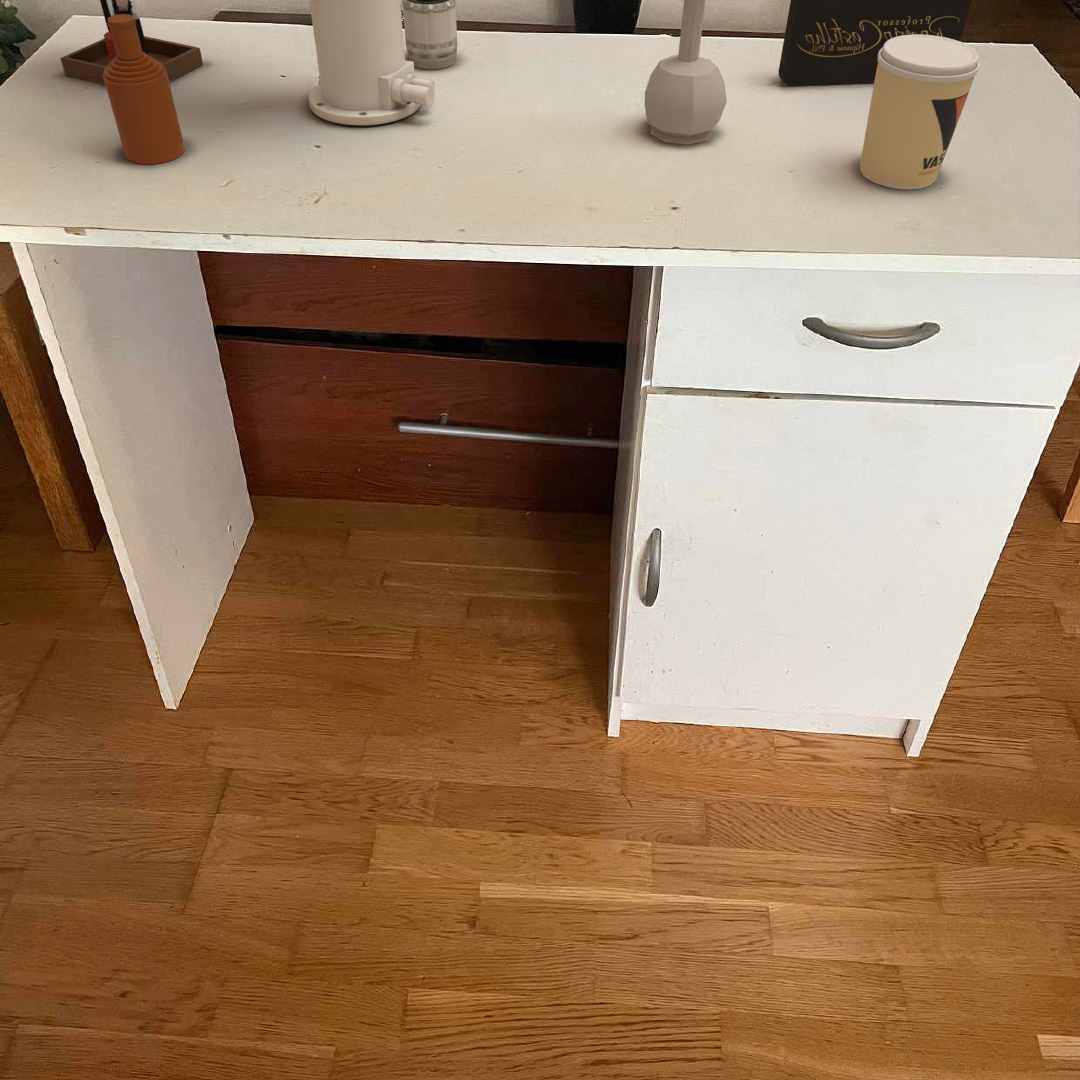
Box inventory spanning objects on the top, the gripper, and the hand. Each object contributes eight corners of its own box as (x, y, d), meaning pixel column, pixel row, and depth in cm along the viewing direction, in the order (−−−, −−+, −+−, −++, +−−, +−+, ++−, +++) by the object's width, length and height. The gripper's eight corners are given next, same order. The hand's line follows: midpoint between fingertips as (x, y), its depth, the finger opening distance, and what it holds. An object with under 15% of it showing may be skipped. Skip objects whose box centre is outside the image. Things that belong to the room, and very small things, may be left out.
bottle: (196, 146, 107) (166, 13, 97) (159, 169, 103) (123, 32, 93) (151, 135, 108) (117, 4, 99) (112, 157, 104) (73, 22, 95)
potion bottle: (730, 123, 112) (756, -60, 100) (705, 154, 107) (729, -36, 94) (656, 109, 115) (672, -71, 102) (627, 138, 109) (641, -48, 97)
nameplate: (942, 74, 124) (967, -16, 116) (948, 80, 122) (975, -11, 115) (776, 80, 121) (792, -11, 114) (781, 86, 120) (797, -5, 113)
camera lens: (456, 51, 127) (453, -18, 121) (459, 69, 123) (457, -1, 117) (405, 52, 126) (400, -17, 121) (407, 71, 122) (402, 0, 116)
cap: (106, 70, 120) (96, 37, 117) (123, 59, 122) (114, 27, 120) (134, 74, 119) (125, 41, 116) (150, 63, 122) (142, 30, 119)
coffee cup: (929, 202, 100) (967, 76, 91) (838, 178, 103) (866, 54, 95) (955, 167, 105) (993, 45, 97) (868, 145, 109) (898, 26, 100)
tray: (203, 64, 123) (199, 47, 121) (146, 94, 116) (141, 76, 115) (125, 48, 126) (120, 30, 125) (65, 75, 120) (59, 57, 118)
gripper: (37, -145, 111) (85, 25, 124) (54, -108, 100) (105, 75, 112) (108, -151, 113) (149, 17, 126) (132, -115, 102) (174, 65, 115)
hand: (128, 43), depth 119 cm, fingers open, 8 cm apart
